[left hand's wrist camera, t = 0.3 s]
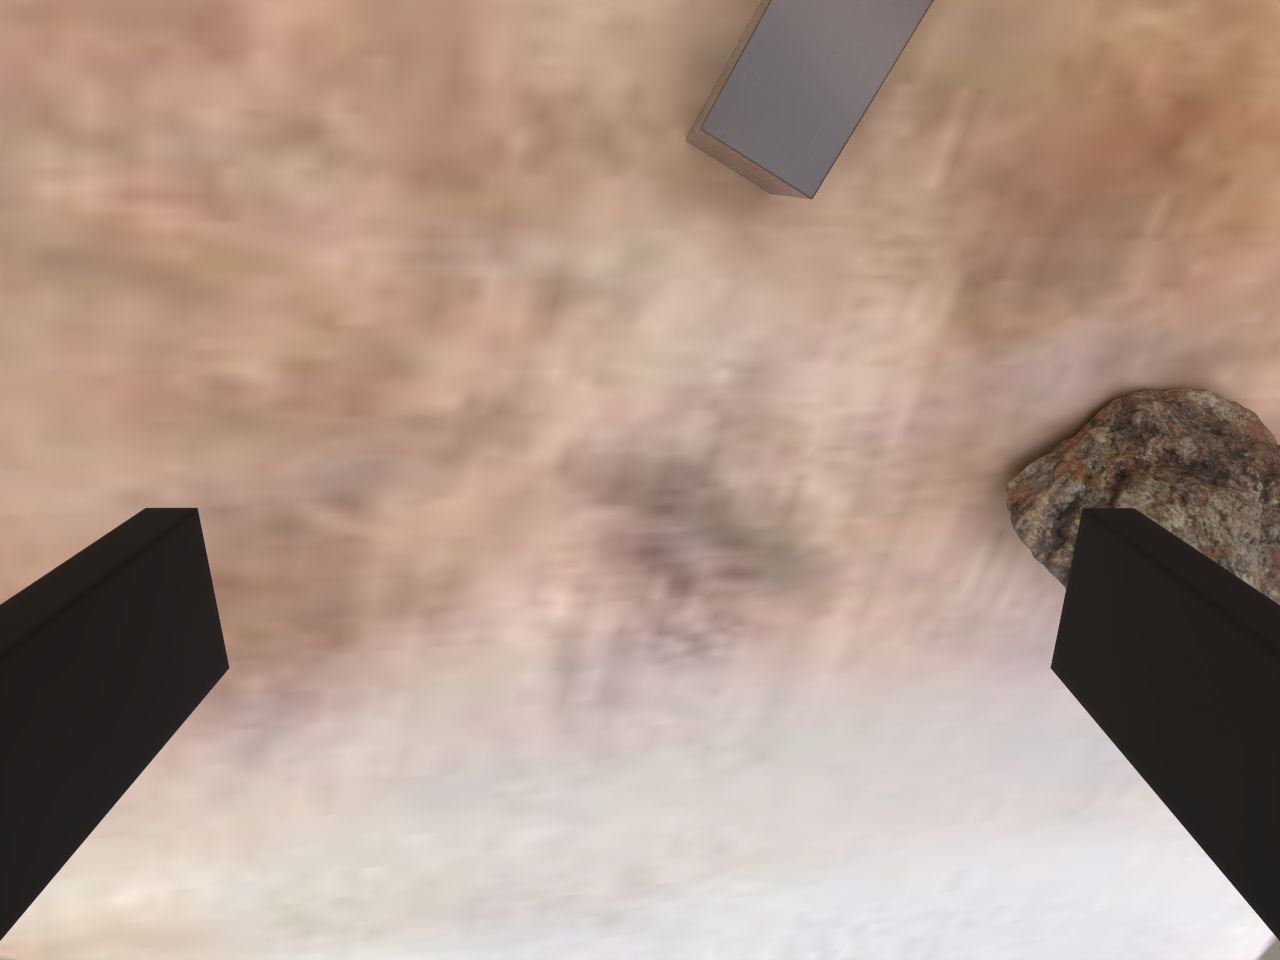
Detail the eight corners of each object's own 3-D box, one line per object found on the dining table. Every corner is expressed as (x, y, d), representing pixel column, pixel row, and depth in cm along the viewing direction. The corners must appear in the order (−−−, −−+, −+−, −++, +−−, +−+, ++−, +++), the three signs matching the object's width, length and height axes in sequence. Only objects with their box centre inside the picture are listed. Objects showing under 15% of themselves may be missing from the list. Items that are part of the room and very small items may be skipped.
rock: (1190, 616, 43) (1321, 449, 40) (1331, 724, 35) (1509, 527, 32) (961, 515, 39) (1084, 326, 36) (1058, 609, 32) (1226, 378, 28)
